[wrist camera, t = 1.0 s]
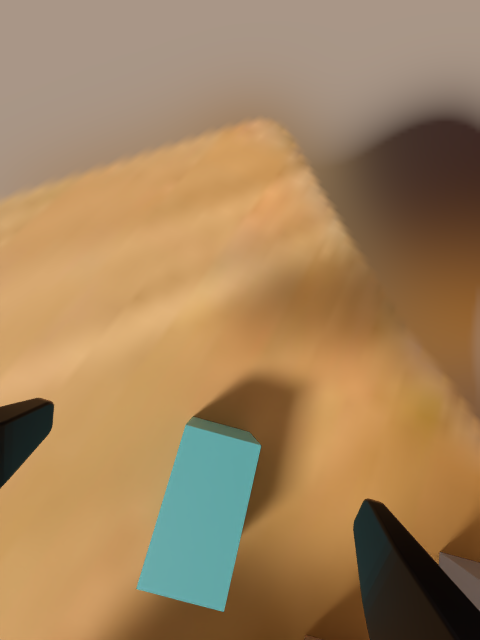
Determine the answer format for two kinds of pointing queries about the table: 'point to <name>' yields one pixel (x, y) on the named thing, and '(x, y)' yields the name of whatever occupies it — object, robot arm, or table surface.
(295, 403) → the table surface
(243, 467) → the teal brick
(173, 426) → the table surface
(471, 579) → the charcoal brick
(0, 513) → the table surface
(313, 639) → the walnut brick
